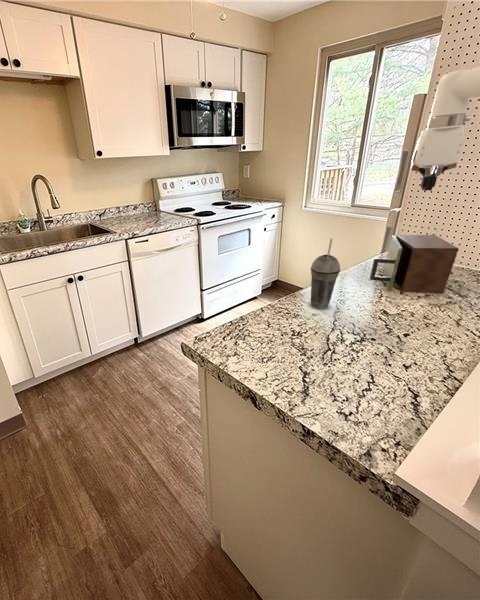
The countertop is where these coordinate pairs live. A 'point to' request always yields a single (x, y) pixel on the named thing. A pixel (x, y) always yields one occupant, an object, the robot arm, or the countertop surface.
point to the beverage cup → (323, 279)
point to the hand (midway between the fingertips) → (426, 189)
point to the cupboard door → (388, 264)
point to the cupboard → (424, 263)
